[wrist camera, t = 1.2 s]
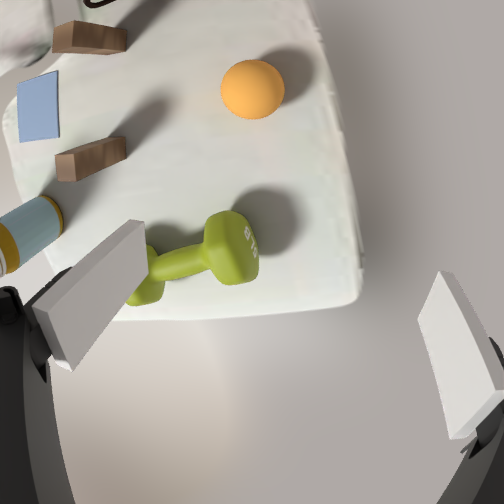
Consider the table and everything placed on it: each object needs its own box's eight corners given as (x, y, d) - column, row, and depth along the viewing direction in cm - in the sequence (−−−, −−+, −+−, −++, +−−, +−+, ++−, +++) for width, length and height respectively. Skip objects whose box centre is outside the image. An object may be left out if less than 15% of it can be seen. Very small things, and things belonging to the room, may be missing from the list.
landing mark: (18, 83, 29) (17, 84, 29) (57, 71, 28) (56, 71, 28) (20, 142, 34) (19, 142, 33) (59, 137, 32) (58, 137, 32)
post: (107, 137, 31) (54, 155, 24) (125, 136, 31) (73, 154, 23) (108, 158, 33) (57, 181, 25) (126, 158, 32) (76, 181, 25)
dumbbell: (244, 195, 32) (226, 222, 26) (269, 260, 35) (259, 298, 29) (126, 236, 38) (95, 264, 31) (154, 287, 41) (129, 321, 34)
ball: (231, 62, 26) (213, 56, 21) (288, 64, 25) (283, 57, 20) (228, 115, 28) (211, 120, 24) (285, 119, 28) (279, 124, 23)
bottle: (69, 208, 37) (-10, 262, 24) (61, 245, 41) (-6, 301, 28) (38, 185, 36) (-40, 229, 23) (32, 222, 40) (-35, 270, 27)
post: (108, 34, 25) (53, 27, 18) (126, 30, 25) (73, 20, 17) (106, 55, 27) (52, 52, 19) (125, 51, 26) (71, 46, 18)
